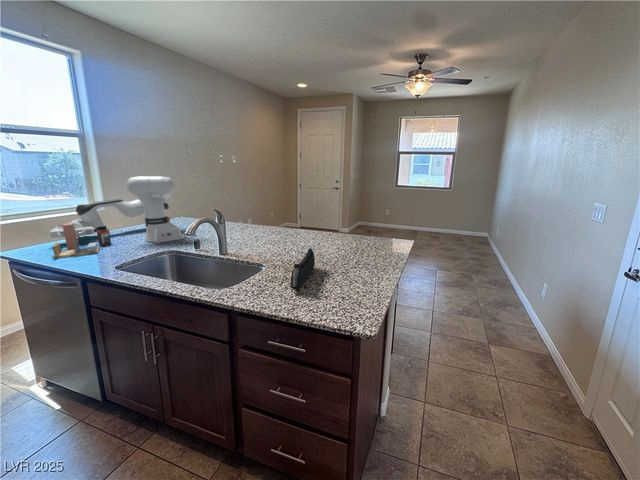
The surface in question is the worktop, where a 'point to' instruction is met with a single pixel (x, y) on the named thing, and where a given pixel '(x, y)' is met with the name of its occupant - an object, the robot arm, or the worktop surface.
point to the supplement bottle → (103, 235)
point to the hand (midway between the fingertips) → (70, 235)
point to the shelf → (68, 252)
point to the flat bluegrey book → (92, 247)
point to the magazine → (302, 270)
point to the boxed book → (70, 235)
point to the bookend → (77, 248)
